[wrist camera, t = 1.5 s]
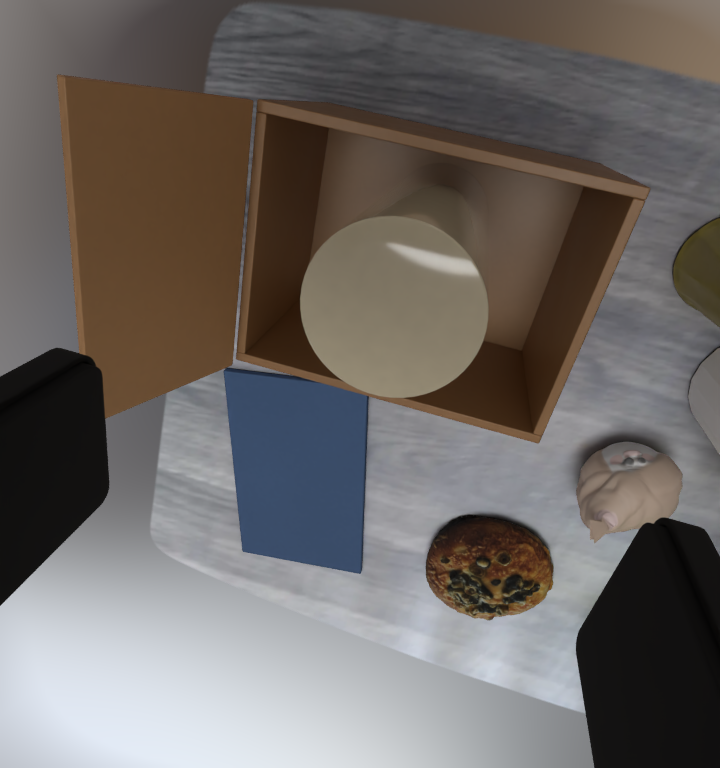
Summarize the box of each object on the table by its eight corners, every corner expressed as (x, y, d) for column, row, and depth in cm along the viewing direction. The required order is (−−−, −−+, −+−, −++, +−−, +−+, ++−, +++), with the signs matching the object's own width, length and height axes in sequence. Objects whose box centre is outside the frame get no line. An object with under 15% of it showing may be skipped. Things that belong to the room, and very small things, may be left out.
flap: (232, 365, 29) (227, 362, 29) (253, 100, 22) (246, 98, 23) (90, 425, 22) (84, 421, 22) (64, 76, 16) (55, 74, 16)
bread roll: (478, 490, 43) (483, 539, 39) (578, 550, 46) (592, 602, 42) (399, 557, 49) (396, 605, 45) (492, 606, 52) (497, 656, 48)
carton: (299, 296, 39) (235, 359, 29) (327, 102, 33) (256, 98, 23) (525, 355, 38) (538, 444, 28) (600, 163, 31) (651, 188, 21)
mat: (226, 367, 44) (223, 370, 43) (369, 385, 42) (367, 388, 41) (244, 547, 53) (242, 551, 52) (362, 569, 51) (360, 574, 50)
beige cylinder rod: (370, 206, 35) (263, 291, 18) (451, 139, 32) (410, 171, 16) (427, 283, 36) (375, 427, 20) (508, 226, 34) (527, 338, 17)
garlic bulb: (595, 415, 39) (618, 482, 32) (683, 441, 38) (726, 515, 31) (559, 483, 42) (573, 557, 35) (640, 508, 41) (670, 588, 34)
